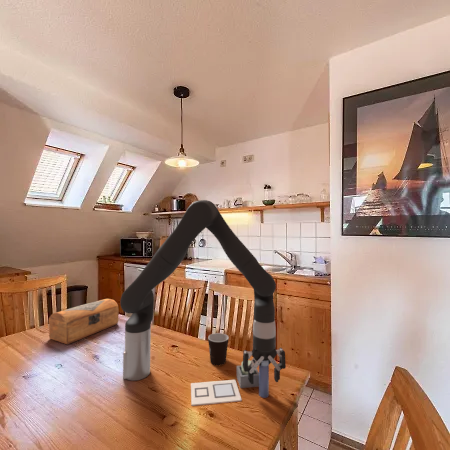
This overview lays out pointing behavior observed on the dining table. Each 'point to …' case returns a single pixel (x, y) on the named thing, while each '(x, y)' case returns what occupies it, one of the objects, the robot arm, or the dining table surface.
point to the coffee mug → (218, 348)
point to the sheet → (214, 392)
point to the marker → (264, 379)
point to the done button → (243, 369)
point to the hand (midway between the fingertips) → (264, 381)
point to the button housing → (244, 378)
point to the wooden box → (83, 321)
